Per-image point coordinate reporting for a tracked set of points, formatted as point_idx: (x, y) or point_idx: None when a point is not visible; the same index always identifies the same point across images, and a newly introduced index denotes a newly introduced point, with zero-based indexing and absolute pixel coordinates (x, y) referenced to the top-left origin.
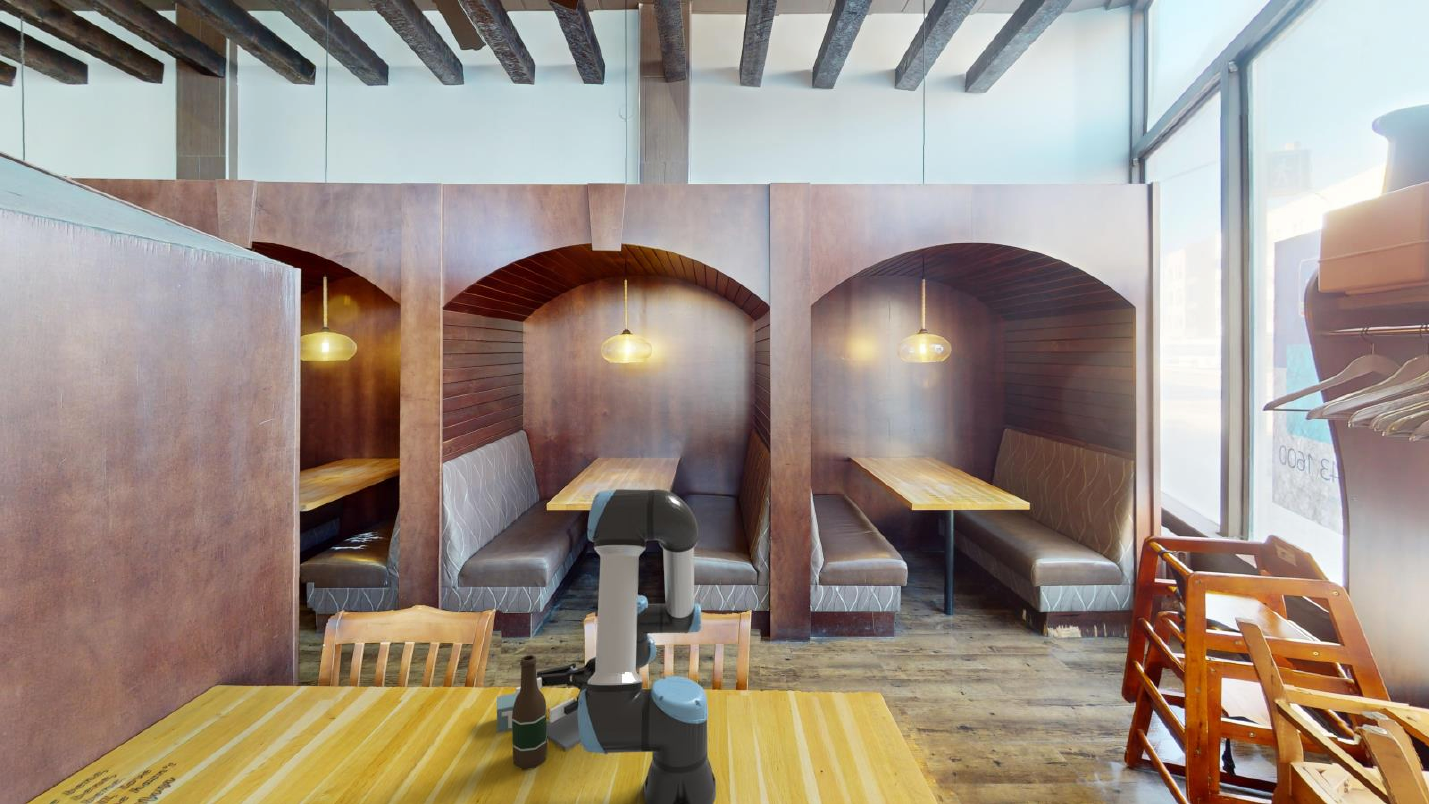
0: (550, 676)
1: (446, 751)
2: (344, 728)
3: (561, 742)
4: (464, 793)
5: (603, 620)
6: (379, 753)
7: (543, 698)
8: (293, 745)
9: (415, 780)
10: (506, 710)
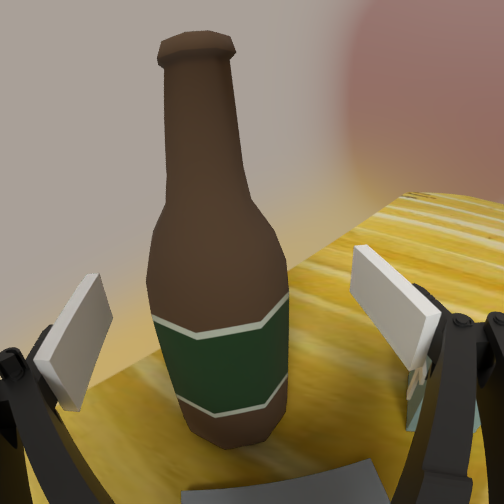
0: (443, 362)
1: None
2: (469, 241)
3: (221, 494)
4: None
5: None
6: (408, 255)
7: (173, 265)
8: (444, 223)
9: (319, 273)
10: None
